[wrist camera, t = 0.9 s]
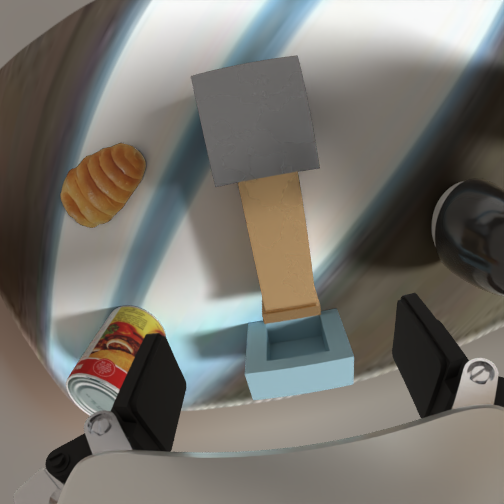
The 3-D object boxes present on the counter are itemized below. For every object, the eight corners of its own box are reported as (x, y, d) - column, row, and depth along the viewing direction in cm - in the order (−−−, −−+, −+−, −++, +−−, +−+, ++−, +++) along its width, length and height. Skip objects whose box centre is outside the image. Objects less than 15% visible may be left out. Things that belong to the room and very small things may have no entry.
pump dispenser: (485, 166, 25) (584, 204, 11) (482, 249, 29) (560, 314, 15) (415, 174, 26) (521, 220, 12) (417, 266, 30) (492, 352, 16)
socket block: (336, 308, 32) (354, 356, 25) (338, 335, 34) (353, 384, 26) (248, 323, 33) (244, 373, 26) (254, 349, 35) (253, 400, 27)
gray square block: (288, 74, 23) (297, 55, 17) (304, 158, 26) (319, 168, 20) (208, 89, 24) (190, 76, 17) (226, 172, 27) (215, 187, 20)
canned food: (157, 363, 37) (131, 435, 25) (104, 338, 35) (65, 403, 24) (174, 323, 34) (144, 401, 23) (114, 294, 32) (66, 361, 21)
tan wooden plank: (276, 73, 22) (280, 61, 18) (312, 286, 30) (321, 314, 25) (218, 84, 23) (209, 74, 18) (263, 294, 30) (264, 324, 26)
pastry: (126, 125, 25) (108, 126, 22) (162, 179, 28) (149, 187, 24) (66, 180, 27) (46, 188, 24) (99, 229, 30) (82, 242, 26)
